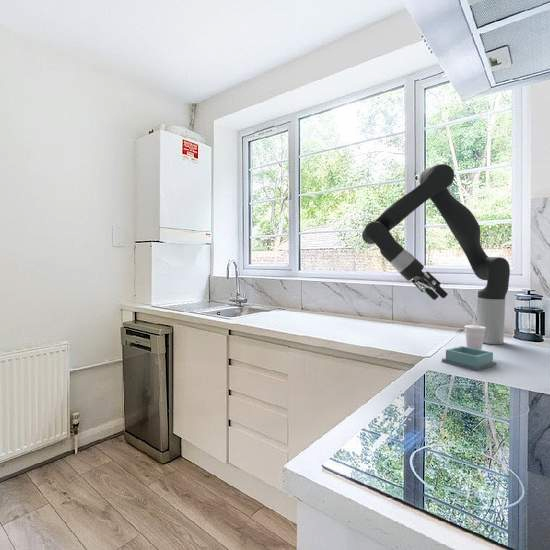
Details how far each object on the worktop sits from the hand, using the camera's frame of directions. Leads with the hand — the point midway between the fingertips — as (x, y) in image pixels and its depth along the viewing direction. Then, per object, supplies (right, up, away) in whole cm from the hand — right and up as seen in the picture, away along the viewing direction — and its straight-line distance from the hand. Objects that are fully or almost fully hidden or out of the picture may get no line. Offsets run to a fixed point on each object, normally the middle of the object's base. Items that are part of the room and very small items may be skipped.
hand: (440, 297), depth 122 cm
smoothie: (+9, -19, -5) cm, 22 cm away
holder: (+2, -19, -15) cm, 24 cm away
